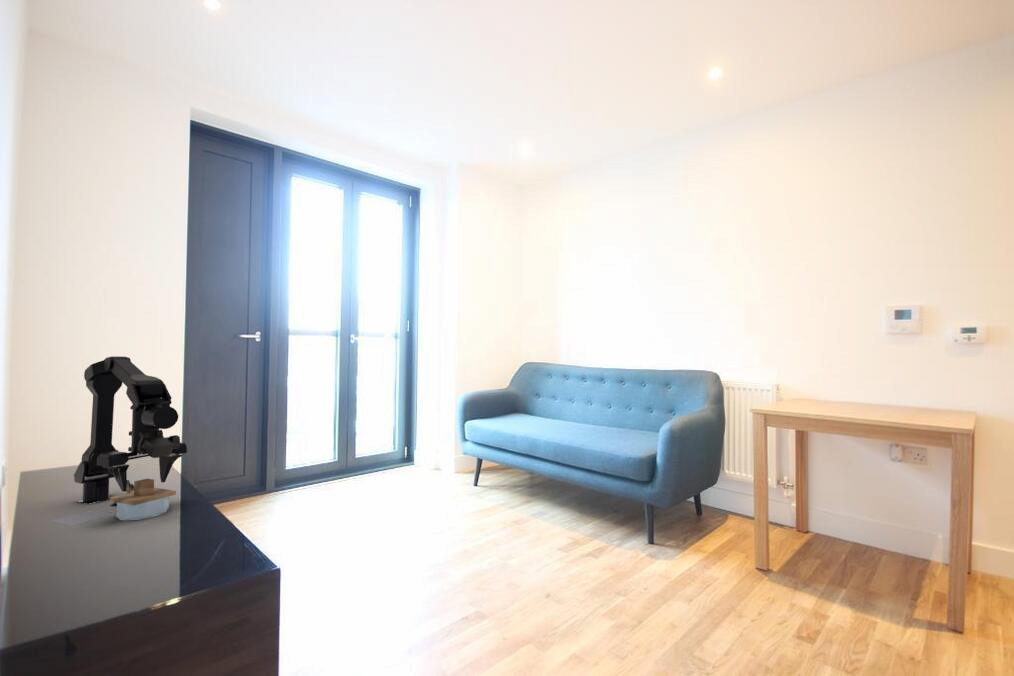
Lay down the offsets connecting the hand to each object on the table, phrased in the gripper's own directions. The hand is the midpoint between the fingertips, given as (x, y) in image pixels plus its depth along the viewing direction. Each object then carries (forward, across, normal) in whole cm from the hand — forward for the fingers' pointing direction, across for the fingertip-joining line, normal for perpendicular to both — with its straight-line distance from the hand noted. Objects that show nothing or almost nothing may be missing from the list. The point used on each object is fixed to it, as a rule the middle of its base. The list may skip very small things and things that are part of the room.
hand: (144, 486), depth 120 cm
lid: (+3, 0, 0) cm, 3 cm away
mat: (+7, -7, +12) cm, 16 cm away
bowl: (+7, 0, 0) cm, 7 cm away
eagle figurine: (+8, +5, +15) cm, 17 cm away
